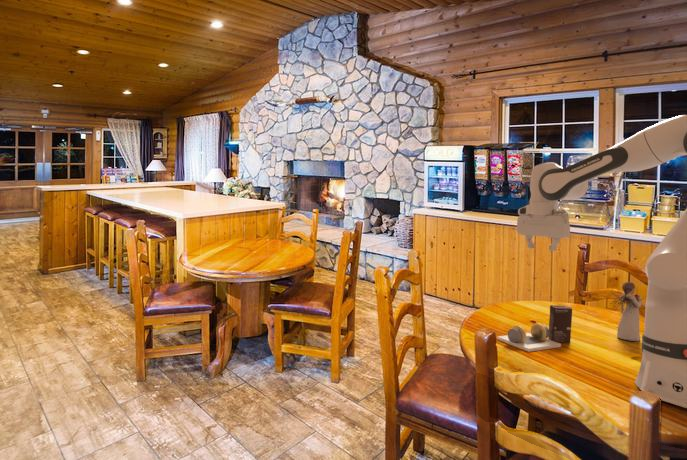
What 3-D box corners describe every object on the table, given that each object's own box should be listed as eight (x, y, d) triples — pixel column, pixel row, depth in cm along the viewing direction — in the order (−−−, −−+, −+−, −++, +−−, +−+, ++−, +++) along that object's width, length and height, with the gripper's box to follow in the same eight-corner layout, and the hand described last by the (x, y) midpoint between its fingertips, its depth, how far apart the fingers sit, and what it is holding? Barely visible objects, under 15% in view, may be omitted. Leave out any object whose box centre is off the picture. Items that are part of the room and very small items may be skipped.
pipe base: (560, 346, 143) (561, 328, 142) (528, 351, 137) (529, 332, 137) (527, 335, 155) (528, 318, 155) (497, 339, 150) (497, 321, 150)
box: (552, 342, 147) (554, 307, 146) (548, 338, 151) (549, 304, 151) (571, 343, 146) (572, 308, 146) (566, 339, 151) (567, 305, 150)
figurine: (644, 340, 151) (646, 283, 150) (630, 345, 145) (632, 285, 144) (614, 333, 159) (616, 279, 158) (599, 337, 154) (602, 281, 153)
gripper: (575, 210, 143) (573, 252, 144) (527, 209, 162) (526, 246, 162) (561, 209, 141) (559, 252, 141) (514, 209, 159) (513, 247, 160)
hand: (541, 249), depth 152 cm, fingers open, 8 cm apart
